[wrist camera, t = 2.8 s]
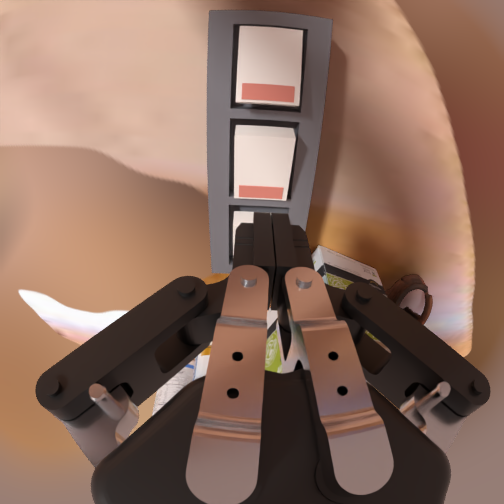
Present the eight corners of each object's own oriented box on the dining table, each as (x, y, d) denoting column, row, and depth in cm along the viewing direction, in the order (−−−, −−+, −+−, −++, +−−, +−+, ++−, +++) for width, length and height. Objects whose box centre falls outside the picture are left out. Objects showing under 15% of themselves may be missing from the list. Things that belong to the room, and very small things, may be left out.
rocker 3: (234, 211, 25) (232, 225, 24) (283, 213, 25) (285, 228, 24) (234, 253, 30) (233, 268, 29) (276, 255, 30) (277, 270, 29)
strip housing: (216, 18, 18) (209, 10, 15) (319, 25, 18) (332, 19, 15) (216, 246, 34) (211, 272, 30) (292, 249, 34) (296, 275, 30)
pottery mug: (348, 300, 40) (375, 319, 32) (387, 252, 40) (419, 261, 32) (389, 340, 43) (416, 361, 34) (423, 297, 42) (453, 311, 34)
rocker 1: (240, 32, 17) (239, 25, 15) (298, 36, 17) (302, 30, 15) (236, 103, 19) (235, 101, 18) (295, 106, 19) (299, 105, 18)
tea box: (315, 241, 33) (342, 349, 22) (376, 267, 36) (413, 361, 24) (260, 316, 42) (261, 409, 30) (316, 330, 44) (328, 415, 33)
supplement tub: (215, 377, 55) (210, 442, 43) (174, 378, 56) (165, 439, 44) (199, 354, 49) (191, 429, 37) (154, 355, 50) (140, 424, 39)
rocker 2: (236, 124, 20) (234, 135, 19) (293, 128, 20) (295, 139, 19) (235, 185, 25) (233, 198, 24) (284, 187, 25) (286, 201, 24)
